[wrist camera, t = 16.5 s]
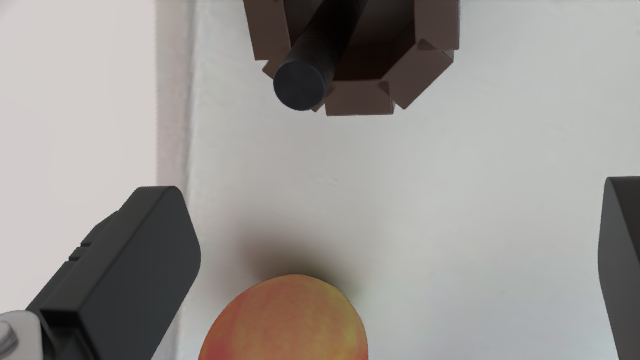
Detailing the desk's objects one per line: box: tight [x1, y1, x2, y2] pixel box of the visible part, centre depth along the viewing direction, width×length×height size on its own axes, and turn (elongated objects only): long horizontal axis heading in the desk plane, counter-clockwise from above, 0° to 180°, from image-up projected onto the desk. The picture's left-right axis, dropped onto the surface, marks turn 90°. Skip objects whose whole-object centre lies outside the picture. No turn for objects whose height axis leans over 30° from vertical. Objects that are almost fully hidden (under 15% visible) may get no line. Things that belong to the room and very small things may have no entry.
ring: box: [243, 0, 460, 116], centre depth 24 cm, size 8×8×4 cm
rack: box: [273, 0, 414, 111], centre depth 22 cm, size 8×8×11 cm
